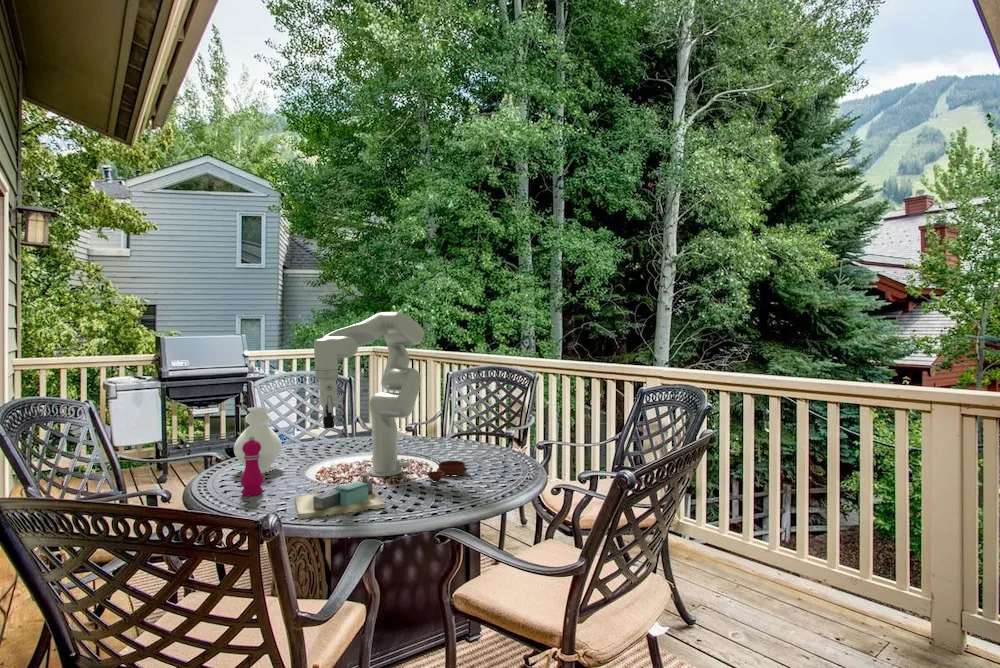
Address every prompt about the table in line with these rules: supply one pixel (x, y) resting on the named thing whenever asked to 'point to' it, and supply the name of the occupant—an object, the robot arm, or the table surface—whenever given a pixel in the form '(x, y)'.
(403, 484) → the table surface
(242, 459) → the decorative vase
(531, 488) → the table surface
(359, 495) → the block
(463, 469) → the pottery
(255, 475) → the pepper mill
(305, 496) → the base board
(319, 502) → the link
